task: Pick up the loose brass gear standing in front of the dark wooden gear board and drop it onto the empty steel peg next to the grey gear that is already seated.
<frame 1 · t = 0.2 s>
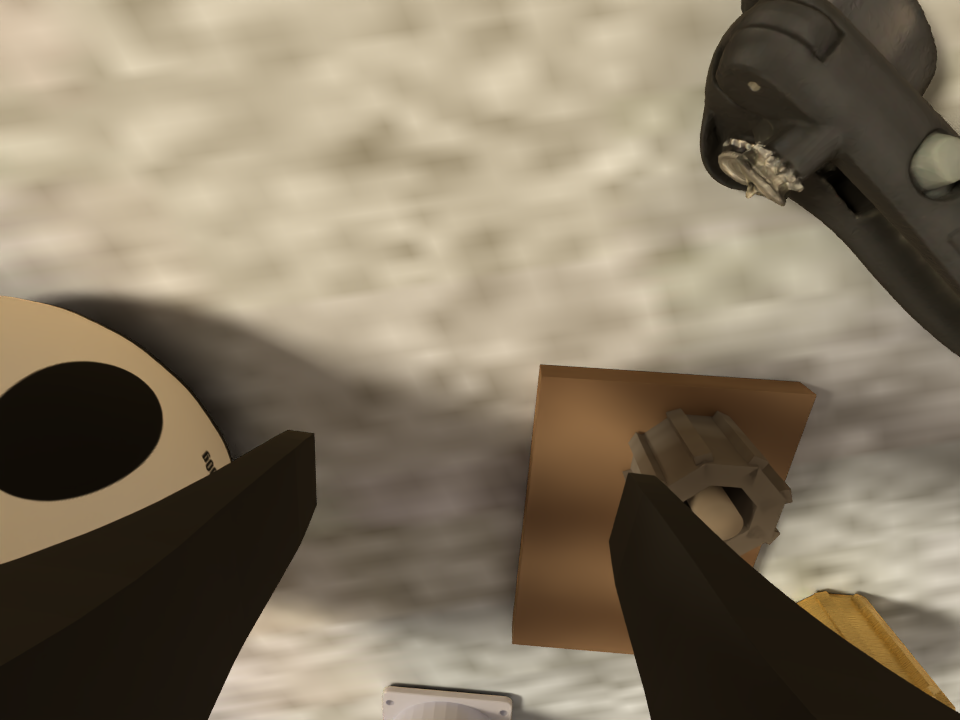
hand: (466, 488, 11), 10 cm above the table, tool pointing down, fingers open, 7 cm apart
milk container: (98, 443, 24), on the table
brass gear: (822, 623, 25), on the table
can opener: (856, 203, 18), on the table
gear board: (635, 520, 23), on the table
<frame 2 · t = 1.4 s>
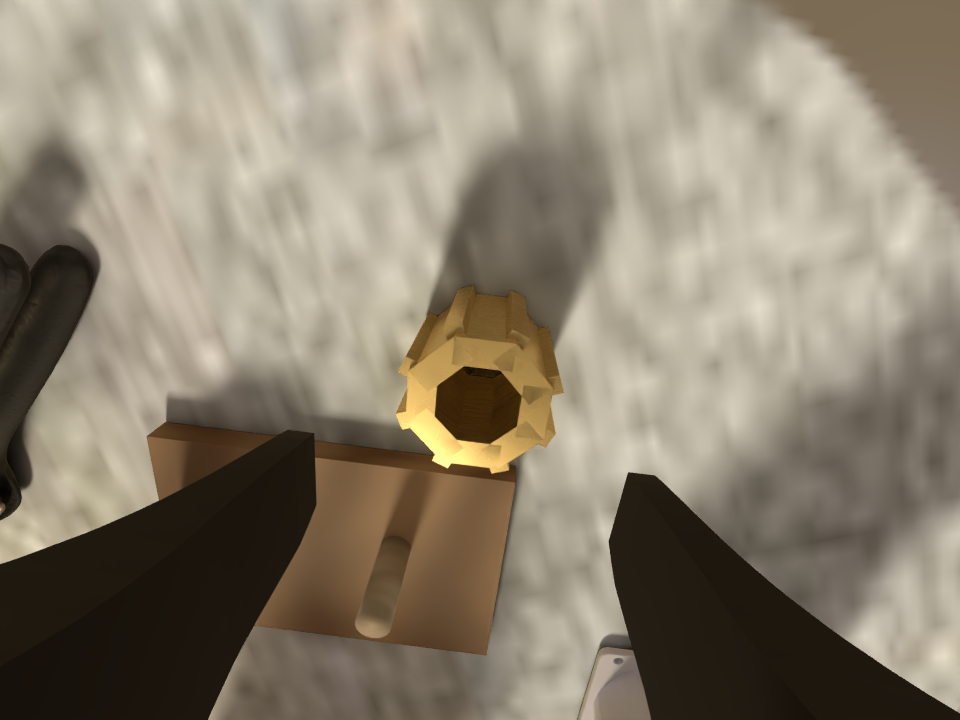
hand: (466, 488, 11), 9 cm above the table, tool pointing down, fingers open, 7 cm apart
brass gear: (485, 347, 19), on the table
can opener: (18, 387, 22), on the table
gear board: (340, 537, 24), on the table
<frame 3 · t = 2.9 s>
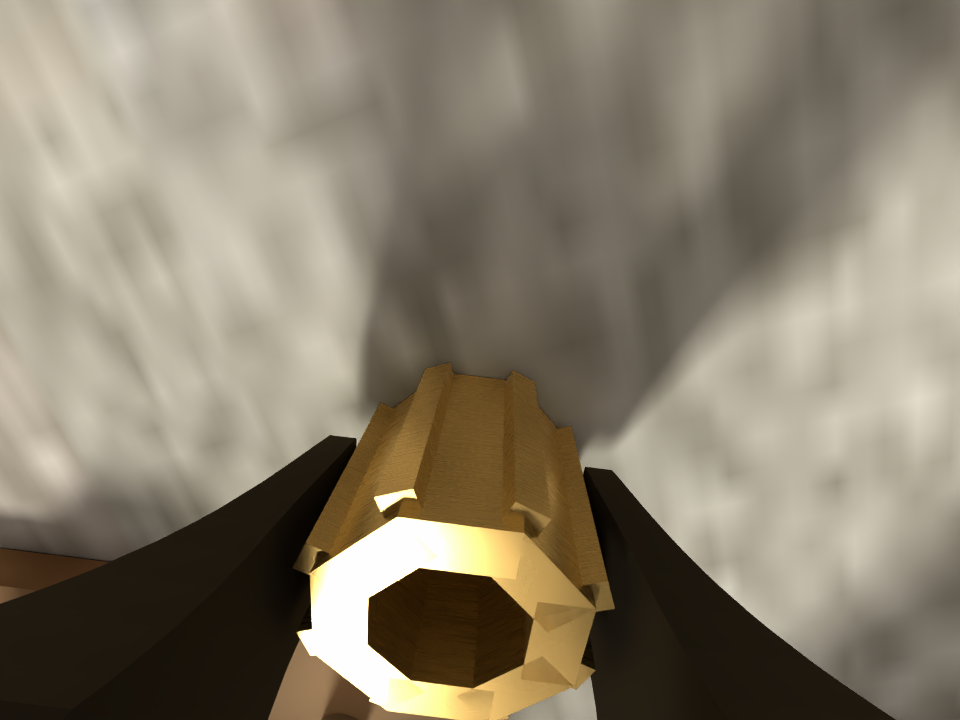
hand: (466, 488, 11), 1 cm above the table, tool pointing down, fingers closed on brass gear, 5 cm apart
brass gear: (470, 453, 12), on the table, touching gripper
gear board: (268, 695, 16), on the table
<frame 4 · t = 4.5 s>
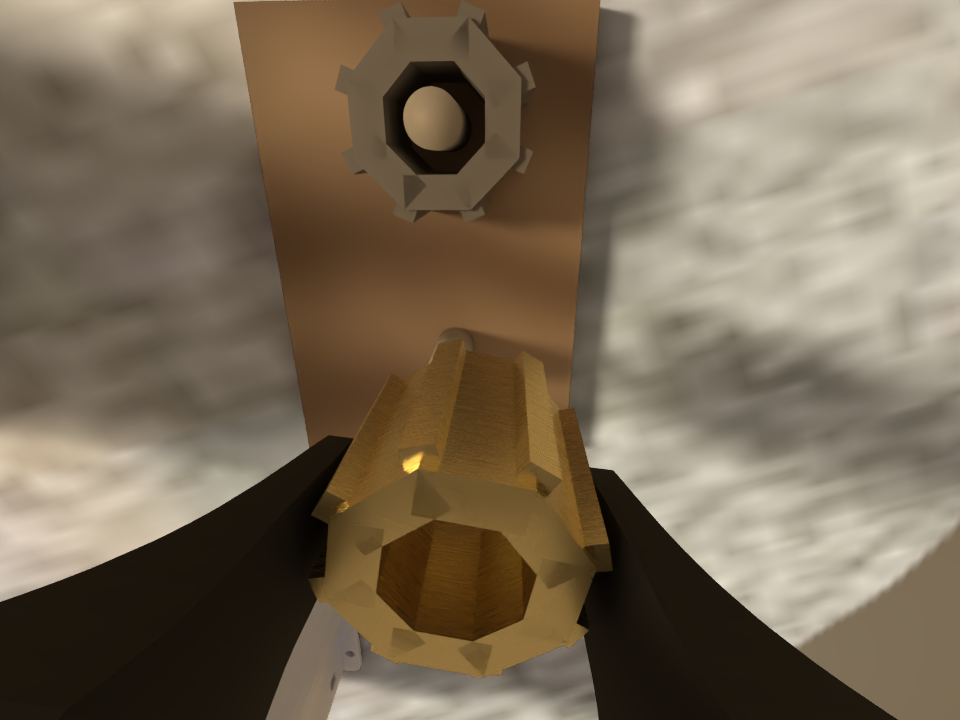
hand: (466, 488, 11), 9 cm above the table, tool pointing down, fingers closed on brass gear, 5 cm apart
brass gear: (474, 429, 13), point 7 cm above the table, touching gripper
gear board: (431, 260, 18), on the table
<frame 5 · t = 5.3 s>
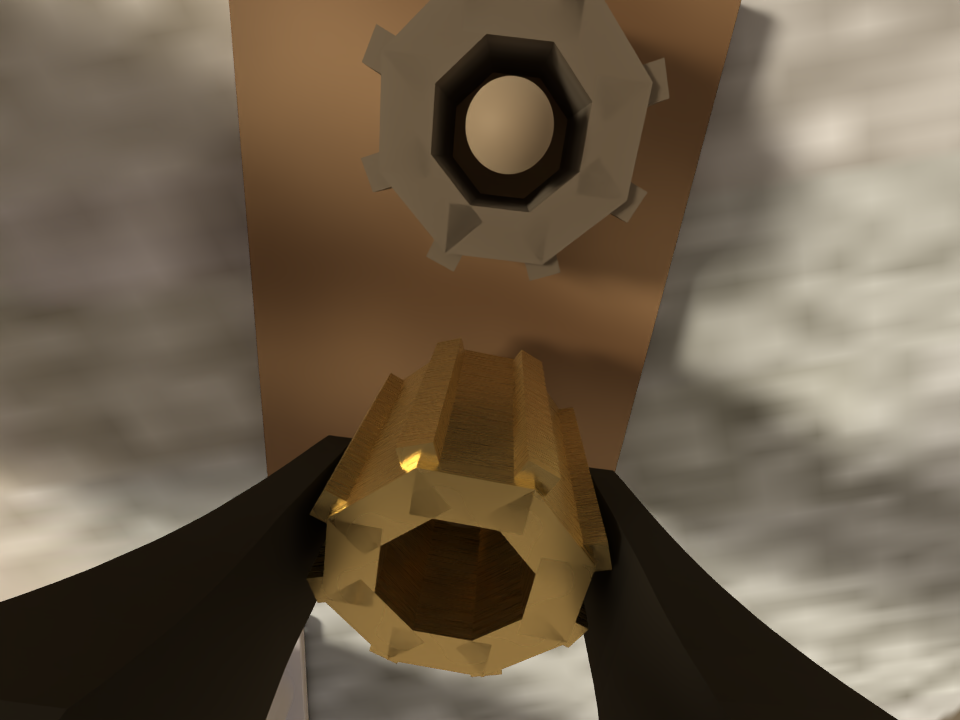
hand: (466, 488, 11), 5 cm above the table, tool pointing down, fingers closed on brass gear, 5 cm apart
brass gear: (473, 429, 13), point 3 cm above the table, touching gripper
gear board: (455, 302, 14), on the table
when the fingers open (4 cm above the table, at t = 6.0 s): brass gear stays where it is, resting on gear board.
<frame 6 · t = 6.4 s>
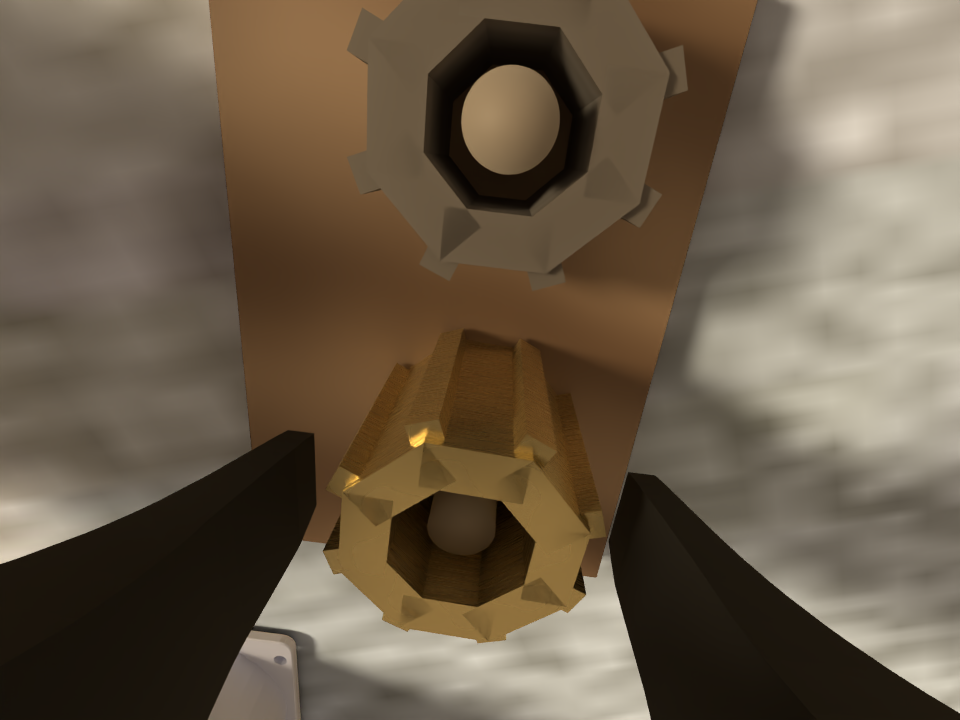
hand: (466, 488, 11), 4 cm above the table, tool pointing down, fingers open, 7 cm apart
brass gear: (476, 415, 13), point 1 cm above the table, touching gear board
gear board: (452, 309, 13), on the table
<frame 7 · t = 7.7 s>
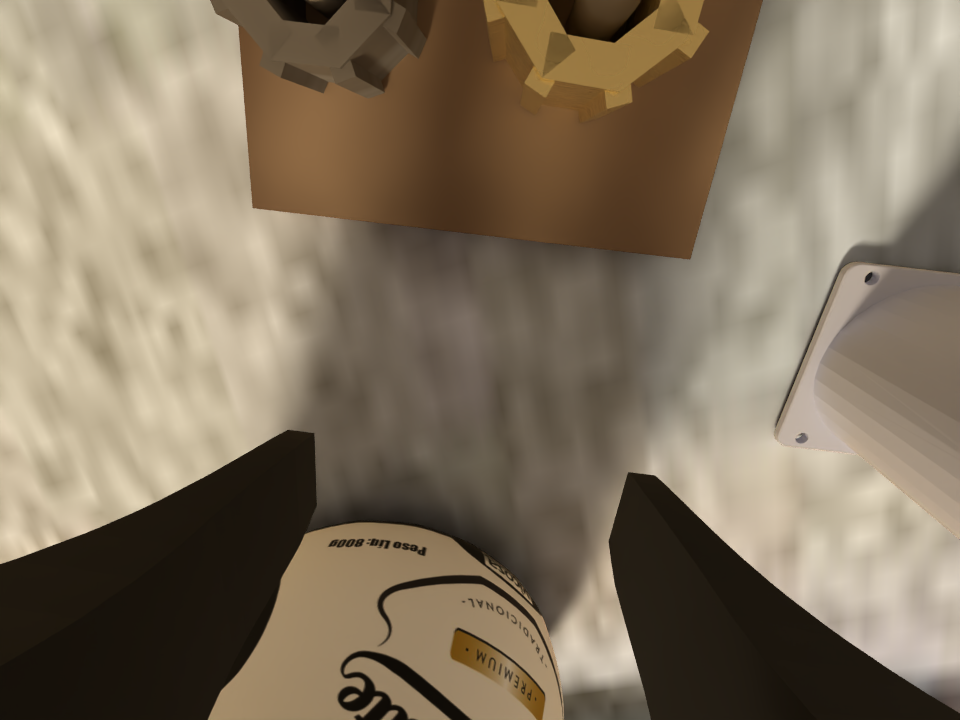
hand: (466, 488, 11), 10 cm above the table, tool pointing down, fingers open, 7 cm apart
milk container: (400, 610, 27), on the table
brass gear: (575, 28, 15), point 1 cm above the table, touching gear board
gear board: (488, 64, 16), on the table
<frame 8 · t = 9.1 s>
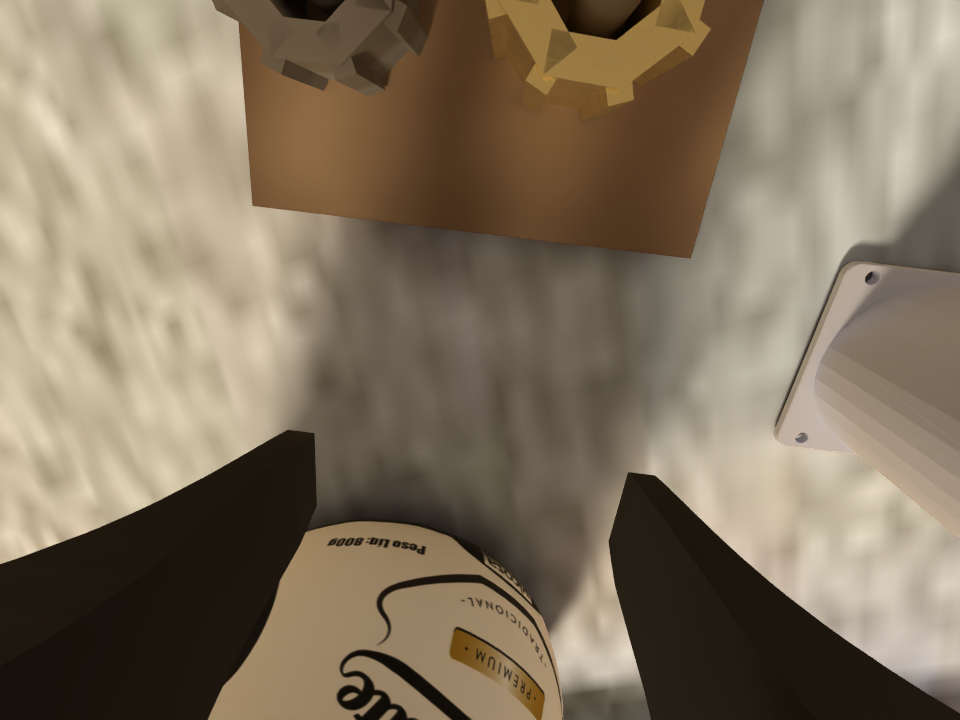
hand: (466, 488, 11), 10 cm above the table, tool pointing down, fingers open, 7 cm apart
milk container: (399, 609, 27), on the table
brass gear: (576, 26, 15), point 1 cm above the table, touching gear board
gear board: (489, 62, 16), on the table
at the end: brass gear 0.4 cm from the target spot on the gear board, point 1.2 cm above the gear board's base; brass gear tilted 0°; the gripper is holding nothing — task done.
